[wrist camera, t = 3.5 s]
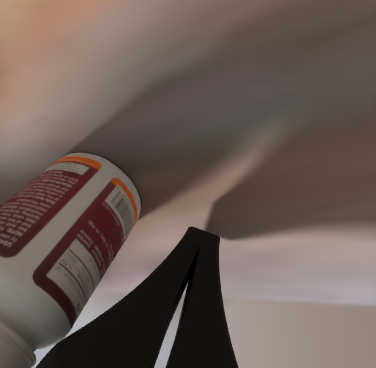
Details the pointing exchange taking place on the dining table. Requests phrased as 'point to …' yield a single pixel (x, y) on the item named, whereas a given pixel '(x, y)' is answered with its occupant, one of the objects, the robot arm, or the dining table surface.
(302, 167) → the dining table surface
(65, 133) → the dining table surface
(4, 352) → the pill bottle
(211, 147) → the dining table surface
